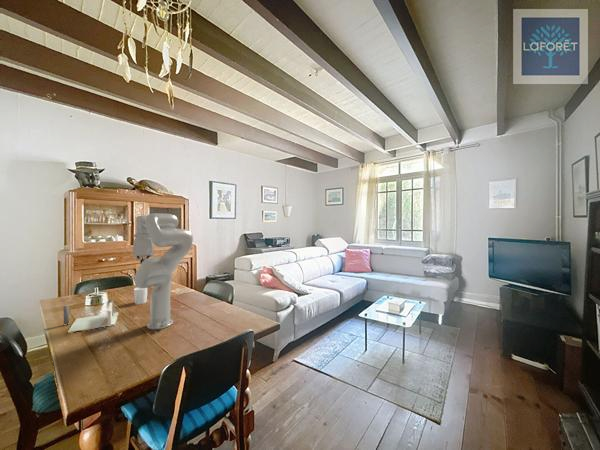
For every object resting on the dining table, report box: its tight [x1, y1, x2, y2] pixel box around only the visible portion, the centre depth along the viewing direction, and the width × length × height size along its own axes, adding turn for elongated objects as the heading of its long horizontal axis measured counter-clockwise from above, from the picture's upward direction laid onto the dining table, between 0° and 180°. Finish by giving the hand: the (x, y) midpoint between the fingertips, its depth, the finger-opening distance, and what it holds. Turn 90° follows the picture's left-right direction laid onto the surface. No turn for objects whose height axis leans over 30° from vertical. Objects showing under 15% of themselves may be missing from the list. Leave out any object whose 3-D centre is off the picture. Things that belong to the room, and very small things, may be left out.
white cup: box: [133, 287, 149, 305], centre depth 166 cm, size 8×8×10 cm
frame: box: [63, 299, 119, 332], centre depth 132 cm, size 19×23×10 cm
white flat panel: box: [107, 302, 112, 327], centre depth 133 cm, size 16×1×8 cm, turn 36°
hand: (143, 266), depth 146 cm, fingers closed
